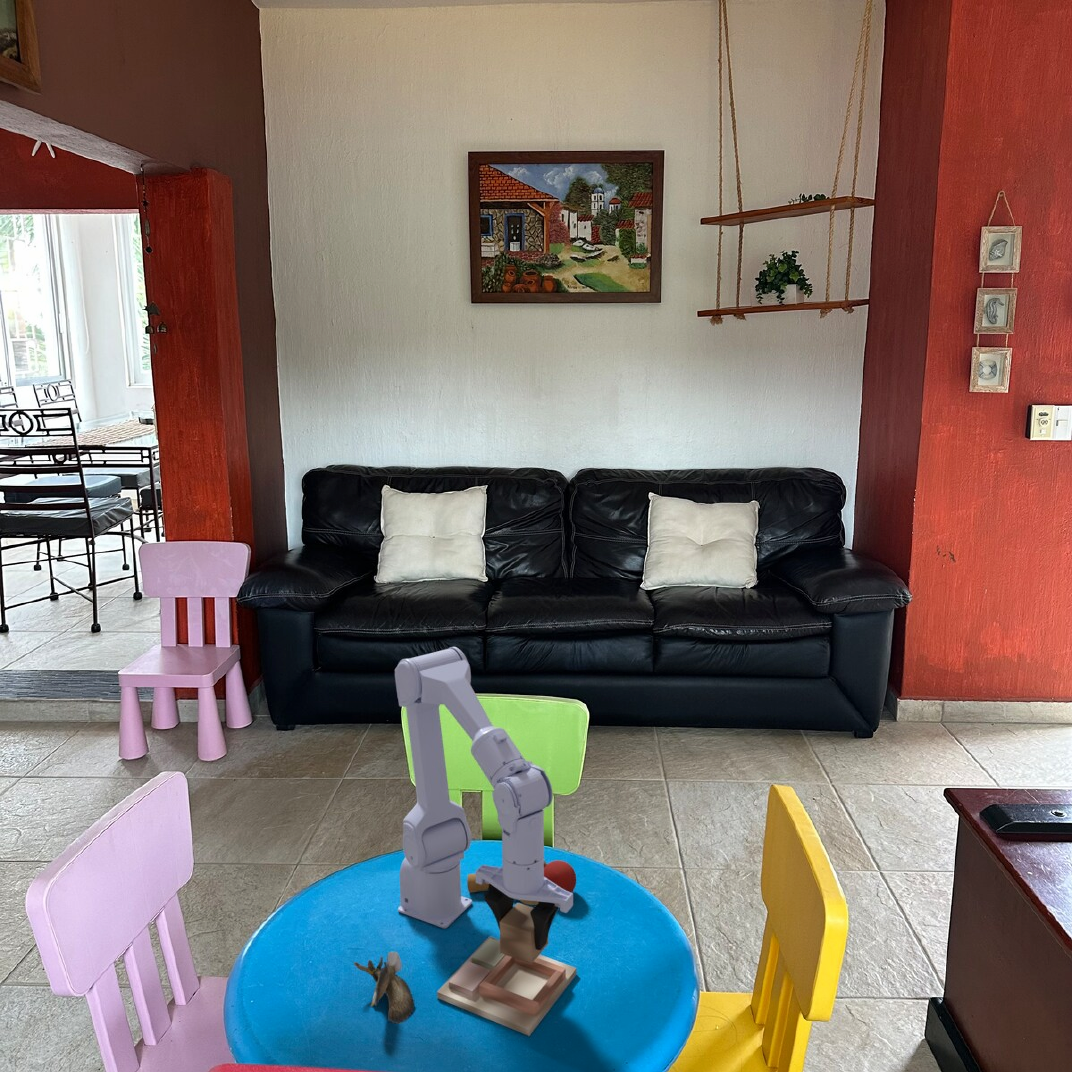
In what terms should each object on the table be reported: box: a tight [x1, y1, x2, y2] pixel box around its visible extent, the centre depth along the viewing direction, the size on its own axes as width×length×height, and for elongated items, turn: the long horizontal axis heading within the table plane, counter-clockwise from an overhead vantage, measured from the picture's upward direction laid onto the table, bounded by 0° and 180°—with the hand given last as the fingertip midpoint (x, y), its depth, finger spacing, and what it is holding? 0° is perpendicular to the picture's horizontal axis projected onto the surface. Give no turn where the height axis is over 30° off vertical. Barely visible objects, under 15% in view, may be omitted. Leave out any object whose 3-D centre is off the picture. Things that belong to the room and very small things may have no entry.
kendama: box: [466, 860, 577, 906], centre depth 161 cm, size 8×6×18 cm
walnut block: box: [499, 902, 549, 964], centre depth 137 cm, size 5×5×5 cm
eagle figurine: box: [353, 951, 415, 1024], centre depth 137 cm, size 8×7×9 cm
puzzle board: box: [436, 935, 578, 1037], centre depth 140 cm, size 15×14×2 cm
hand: (523, 939), depth 137 cm, fingers closed on walnut block, 5 cm apart
